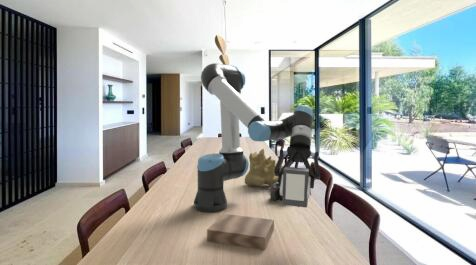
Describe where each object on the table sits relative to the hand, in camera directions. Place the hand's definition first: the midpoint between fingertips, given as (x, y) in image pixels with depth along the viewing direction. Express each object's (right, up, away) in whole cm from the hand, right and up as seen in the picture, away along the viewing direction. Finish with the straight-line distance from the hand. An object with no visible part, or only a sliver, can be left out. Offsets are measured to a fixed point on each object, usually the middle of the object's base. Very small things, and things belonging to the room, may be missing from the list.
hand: (294, 194), depth 99 cm
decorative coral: (-2, -11, +75) cm, 76 cm away
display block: (-17, -16, +9) cm, 25 cm away
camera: (+4, -13, +50) cm, 52 cm away
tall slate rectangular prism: (+1, -4, +4) cm, 5 cm away
